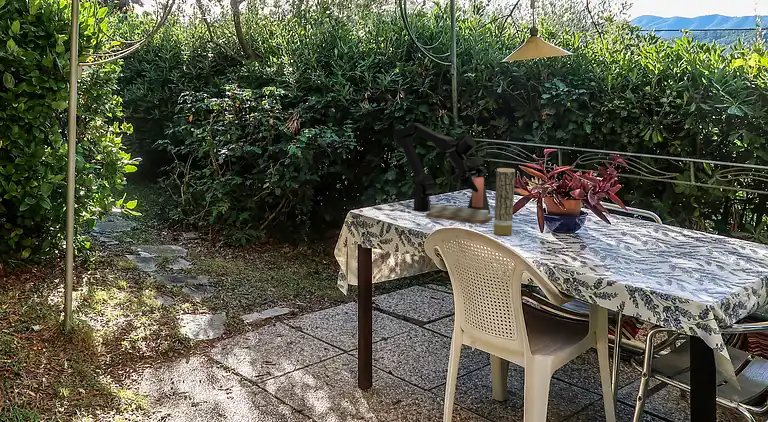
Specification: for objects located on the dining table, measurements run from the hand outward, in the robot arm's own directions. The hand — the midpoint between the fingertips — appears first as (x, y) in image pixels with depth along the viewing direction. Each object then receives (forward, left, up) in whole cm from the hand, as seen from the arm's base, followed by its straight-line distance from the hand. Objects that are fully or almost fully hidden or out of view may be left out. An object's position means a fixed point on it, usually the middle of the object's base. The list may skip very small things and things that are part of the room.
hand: (480, 191), depth 272 cm
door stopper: (-6, +15, -13) cm, 21 cm away
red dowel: (-1, 0, -7) cm, 7 cm away
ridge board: (-9, 0, -13) cm, 16 cm away
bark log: (+16, -18, -13) cm, 27 cm away
